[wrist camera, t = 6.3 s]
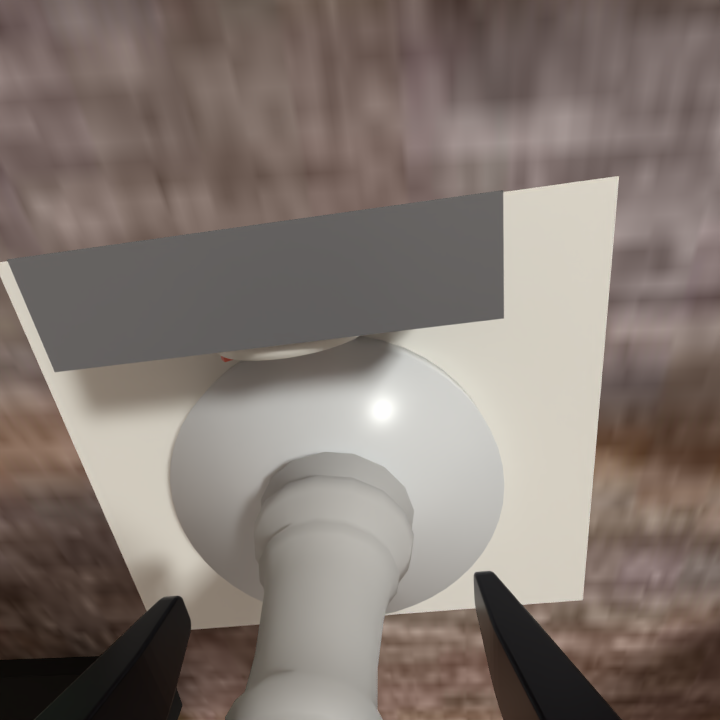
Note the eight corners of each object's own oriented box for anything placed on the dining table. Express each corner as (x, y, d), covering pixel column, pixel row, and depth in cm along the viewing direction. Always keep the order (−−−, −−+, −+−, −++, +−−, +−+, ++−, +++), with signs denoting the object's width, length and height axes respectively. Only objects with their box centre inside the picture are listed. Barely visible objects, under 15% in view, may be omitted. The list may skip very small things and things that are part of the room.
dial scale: (561, 185, 12) (783, 150, 6) (546, 536, 17) (659, 738, 10) (73, 252, 13) (-215, 290, 7) (188, 566, 18) (86, 768, 11)
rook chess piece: (319, 412, 11) (185, 880, 3) (444, 496, 12) (559, 1019, 4) (237, 513, 12) (15, 995, 5) (353, 581, 13) (319, 1083, 6)
